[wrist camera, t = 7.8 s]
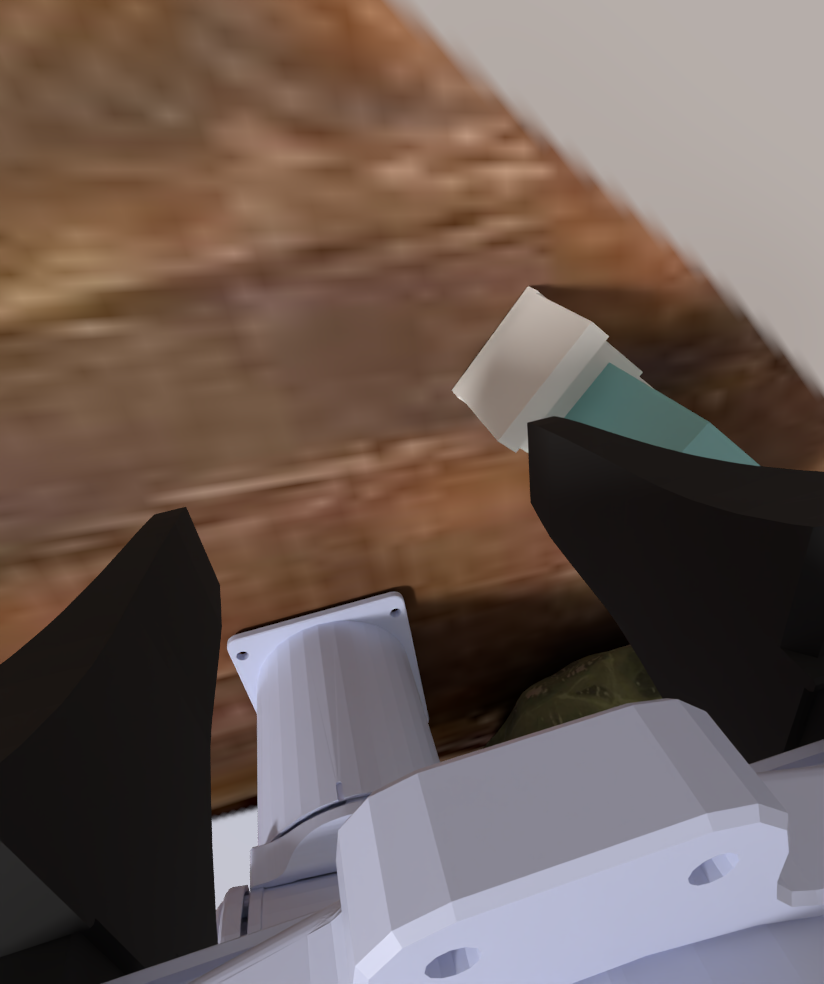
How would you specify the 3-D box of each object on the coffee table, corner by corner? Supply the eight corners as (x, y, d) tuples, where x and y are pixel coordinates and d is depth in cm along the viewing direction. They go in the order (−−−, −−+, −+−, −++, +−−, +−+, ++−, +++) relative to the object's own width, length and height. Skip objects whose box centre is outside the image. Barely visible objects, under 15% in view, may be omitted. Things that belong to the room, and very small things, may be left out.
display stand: (715, 442, 26) (797, 495, 22) (645, 518, 28) (712, 580, 24) (528, 286, 21) (594, 318, 17) (451, 390, 22) (496, 443, 18)
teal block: (749, 478, 23) (858, 550, 19) (687, 542, 24) (777, 624, 20) (609, 362, 19) (709, 422, 15) (541, 445, 20) (617, 523, 16)
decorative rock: (653, 728, 40) (763, 884, 33) (440, 792, 36) (508, 989, 29) (729, 573, 32) (904, 737, 24) (459, 636, 27) (564, 858, 20)
